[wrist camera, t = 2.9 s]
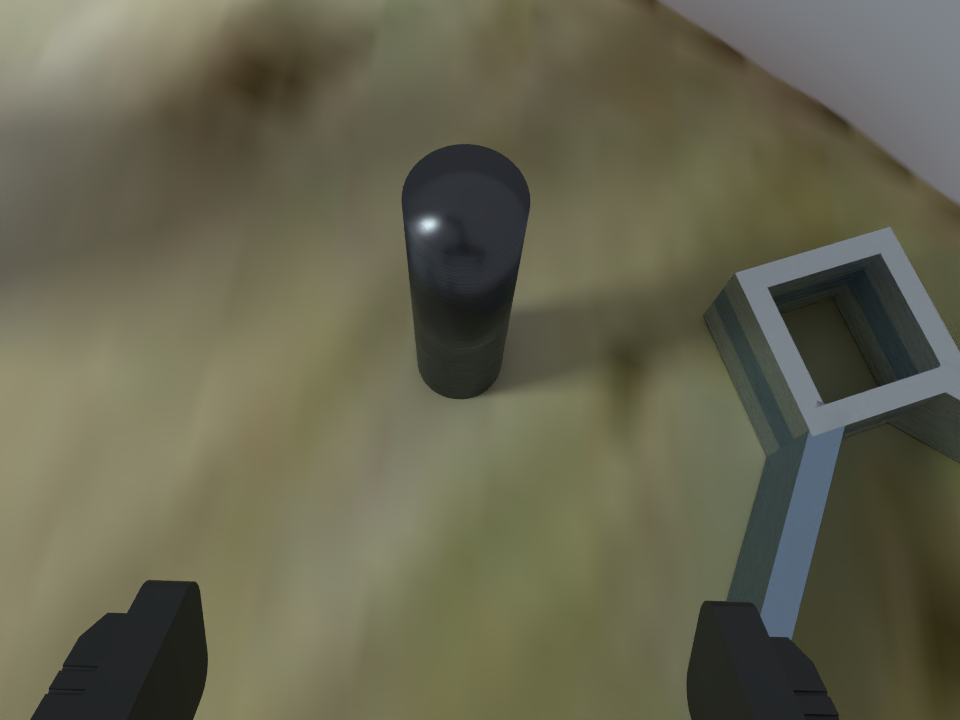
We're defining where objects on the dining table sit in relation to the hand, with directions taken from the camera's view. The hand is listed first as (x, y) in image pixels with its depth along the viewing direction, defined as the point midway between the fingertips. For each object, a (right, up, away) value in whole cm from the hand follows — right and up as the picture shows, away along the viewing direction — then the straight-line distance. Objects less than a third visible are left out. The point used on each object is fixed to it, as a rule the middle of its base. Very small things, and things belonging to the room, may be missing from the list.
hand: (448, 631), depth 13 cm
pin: (0, +4, +16) cm, 17 cm away
